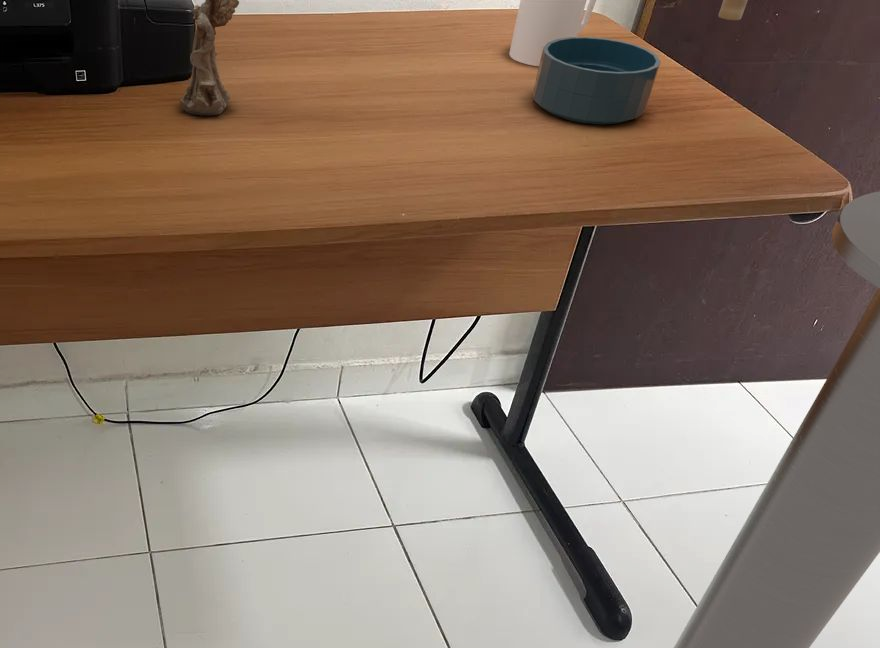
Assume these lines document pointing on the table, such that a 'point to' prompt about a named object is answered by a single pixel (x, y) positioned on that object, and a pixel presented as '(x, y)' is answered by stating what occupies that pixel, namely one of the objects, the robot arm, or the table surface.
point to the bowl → (595, 79)
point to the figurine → (207, 60)
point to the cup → (546, 26)
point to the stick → (732, 9)
